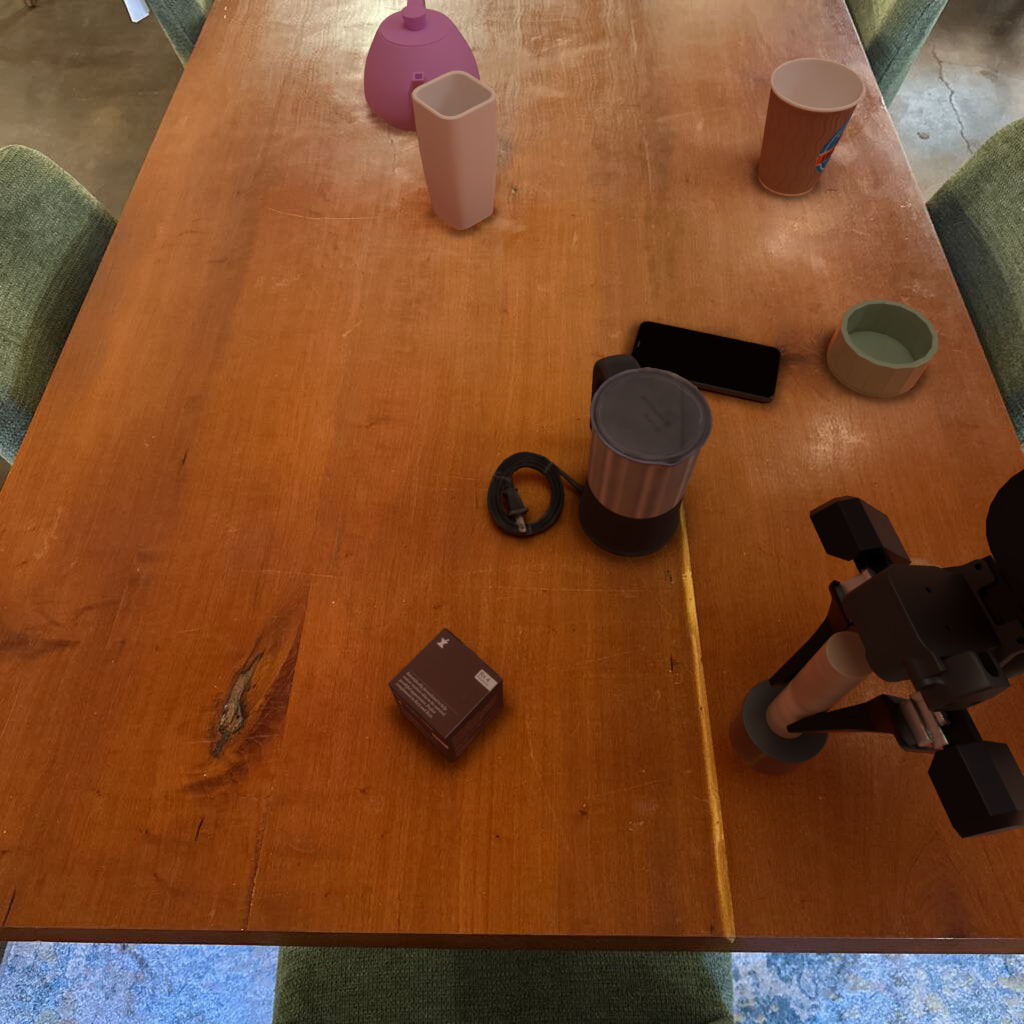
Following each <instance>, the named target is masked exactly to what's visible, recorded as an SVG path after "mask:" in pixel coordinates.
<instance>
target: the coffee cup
mask: <svg viewBox="0 0 1024 1024" xmlns="http://www.w3.org/2000/svg"><path fill="white" fill-rule="evenodd" d="M769 84H770V91H769V97H768V103H767V109H766V118H765V121H764V122H765V124H764V129H763V136H762V142H761V148H760V154H759V159H758V160H759V161H758V174H757V175H758V180H759V183H760V184H761V185H762V186H763V187H764V188H765V189H766V190H767V191H769V192H771V193H773V194H776V195H780V196H783V197H798V196H802V195H805V194H808V193H809V192H811V191H812V189H814V187H815V185H816V184H817V182H818V181H819V180H820V178H821V176H822V174H823V172H824V171H825V170H826V166H827V165H828V163H829V161H830V159H831V157H832V155H833V153H834V151H835V149H836V147H837V146H838V144H839V142H840V139H841V138H842V136H843V134H844V131H845V130H846V128H847V126H848V124H849V123H850V121H851V118H852V117H853V114H854V112H855V110H856V108H857V106H858V104H859V103H860V102H861V101H862V100H863V99H864V97H865V95H866V83H865V81H864V79H863V78H862V76H861V75H860V74H859V73H858V72H856V70H854V69H852V68H851V67H849V66H848V65H846V64H843V63H840V62H838V61H835V60H831V59H827V58H819V57H800V58H795V59H790V60H787V61H784V62H783V63H781V64H779V65H778V66H777V67H775V69H774V70H773V71H772V73H771V74H770V77H769Z"/></svg>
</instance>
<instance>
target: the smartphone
mask: <svg viewBox="0 0 1024 1024" xmlns="http://www.w3.org/2000/svg"><path fill="white" fill-rule="evenodd" d="M629 355H631V356H633V357H634V358H635V359H636V361H637V362H638V364H639V365H640V367H641V368H646V367H650V368H657V369H661V370H666V371H669V372H672V373H675V374H677V375H679V376H680V377H682V378H684V379H686V380H688V381H689V382H691V383H692V384H693V385H694V386H696V387H697V388H698V389H702V390H703V389H704V390H707V391H712V392H716V393H721V394H724V395H730V396H733V397H738V398H744V399H747V400H752V401H756V402H757V401H758V402H760V403H761V402H762V403H769V402H771V401H773V400H774V398H775V396H776V392H777V386H778V380H779V375H780V374H779V373H780V368H781V361H782V352H781V350H780V349H779V348H777V347H775V346H771V345H767V344H763V343H762V344H761V343H756V342H752V341H748V340H743V339H737V338H733V337H729V336H723V335H719V334H714V333H710V332H709V333H708V332H704V331H699V330H695V329H689V328H685V327H680V326H676V325H671V324H666V323H662V322H656V321H651V320H644V321H642V322H641V323H640V324H639V325H638V328H637V331H636V333H635V336H634V340H633V343H632V347H631V351H630V353H629Z"/></svg>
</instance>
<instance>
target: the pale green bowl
mask: <svg viewBox="0 0 1024 1024" xmlns="http://www.w3.org/2000/svg"><path fill="white" fill-rule="evenodd" d="M939 339H940V338H939V334H938V332H937V330H936V328H935V326H934V325H933V322H932V321H930V319H929V318H927V317H926V316H925V315H924V313H922V312H921V311H920V310H918V309H916V308H913V307H912V306H909V305H908V304H905V303H903V302H899V301H896V300H895V301H894V300H889V299H885V298H878V299H866V300H863V301H861V302H858V303H855V304H853V305H851V306H850V307H849V308H848V309H847V310H846V311H845V312H844V313H843V315H842V316H841V318H840V320H839V323H838V324H837V327H836V329H835V331H834V333H833V335H832V338H831V339H830V342H829V344H828V347H827V349H826V364H827V367H828V368H829V371H830V372H831V374H832V375H833V377H834V378H835V379H836V380H837V381H838V382H839V383H840V384H841V385H843V386H844V387H846V388H848V389H849V390H851V391H853V392H854V393H857V394H860V395H863V396H867V397H872V398H880V399H881V398H885V399H886V398H894V397H898V396H901V395H904V394H906V393H907V392H908V391H910V390H911V389H912V388H913V387H914V386H915V385H916V383H917V382H918V380H919V379H920V378H921V377H922V375H923V373H924V372H925V370H926V369H927V368H928V366H929V364H930V363H931V361H932V360H933V358H934V357H935V355H936V354H937V352H938V350H939Z"/></svg>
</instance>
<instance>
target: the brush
mask: <svg viewBox="0 0 1024 1024" xmlns="http://www.w3.org/2000/svg"><path fill="white" fill-rule="evenodd" d="M865 652H866V650H865V647H864V645H863V643H862V641H861V638H860V636H859V634H857V633H854V632H848V631H843V632H838V633H836V634H834V635H832V636H831V637H830V638H829V639H828V640H827V642H826V643H825V644H824V645H823V646H822V647H821V648H820V649H819V650H818V652H817V653H816V654H815V655H814V656H813V657H812V658H811V659H810V660H809V662H808V663H807V664H806V665H805V666H804V667H803V668H802V669H801V670H800V672H799V673H798V674H797V675H796V676H795V677H794V678H793V679H792V680H791V682H790V683H789V684H788V685H785V686H781V687H772V686H770V683H769V679H770V678H768V679H764V680H762V681H759V682H758V683H757V684H755V685H754V686H753V687H752V688H750V690H749V691H748V692H747V693H746V695H745V696H744V697H743V699H742V700H741V701H740V702H739V704H738V705H736V707H735V709H734V710H733V712H732V714H731V716H730V719H729V724H728V734H729V739H730V744H731V746H732V748H733V750H734V752H735V753H736V755H737V757H738V758H739V759H740V761H742V762H743V763H744V764H745V765H746V766H747V767H748V768H750V769H751V770H753V771H755V772H757V773H759V774H762V775H765V776H768V777H783V776H787V775H790V774H793V773H795V772H796V771H798V770H800V768H801V767H803V766H805V765H806V764H808V763H809V762H810V761H811V760H812V759H814V758H815V757H817V756H818V754H820V753H821V752H822V750H823V749H824V748H825V746H826V745H827V742H828V739H829V735H830V733H789V732H788V731H787V728H786V726H787V725H789V724H792V723H794V722H796V721H799V720H801V719H803V718H806V717H810V716H814V715H818V714H822V713H826V712H829V711H831V709H833V707H835V706H836V705H837V704H838V703H839V702H840V701H842V700H843V699H844V698H845V697H846V696H848V695H849V693H851V692H852V691H853V690H854V689H855V688H856V687H858V686H859V685H860V684H861V683H862V682H863V681H865V680H866V678H868V677H869V676H870V675H871V674H872V673H874V672H873V671H872V669H871V668H870V666H869V664H868V662H867V660H866V658H865Z"/></svg>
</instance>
